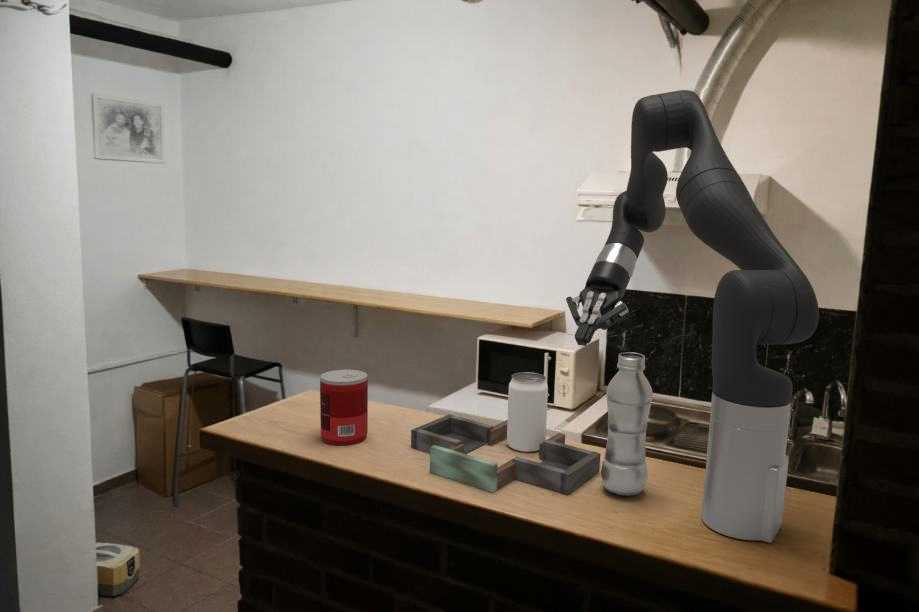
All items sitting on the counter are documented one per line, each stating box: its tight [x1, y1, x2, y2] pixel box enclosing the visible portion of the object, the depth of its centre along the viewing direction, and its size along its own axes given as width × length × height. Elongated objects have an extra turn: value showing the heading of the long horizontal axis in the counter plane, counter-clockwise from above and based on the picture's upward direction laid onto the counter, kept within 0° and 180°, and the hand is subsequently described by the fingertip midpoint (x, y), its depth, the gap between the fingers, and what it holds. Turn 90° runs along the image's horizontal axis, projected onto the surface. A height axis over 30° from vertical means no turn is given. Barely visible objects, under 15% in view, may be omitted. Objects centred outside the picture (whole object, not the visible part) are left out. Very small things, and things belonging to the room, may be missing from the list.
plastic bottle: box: [600, 351, 654, 496], centre depth 98 cm, size 6×7×20 cm
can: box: [506, 371, 549, 453], centre depth 116 cm, size 6×6×12 cm
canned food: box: [319, 369, 369, 446], centre depth 118 cm, size 8×8×11 cm
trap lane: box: [410, 413, 602, 496], centre depth 110 cm, size 29×22×4 cm
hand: (580, 343), depth 129 cm, fingers closed
